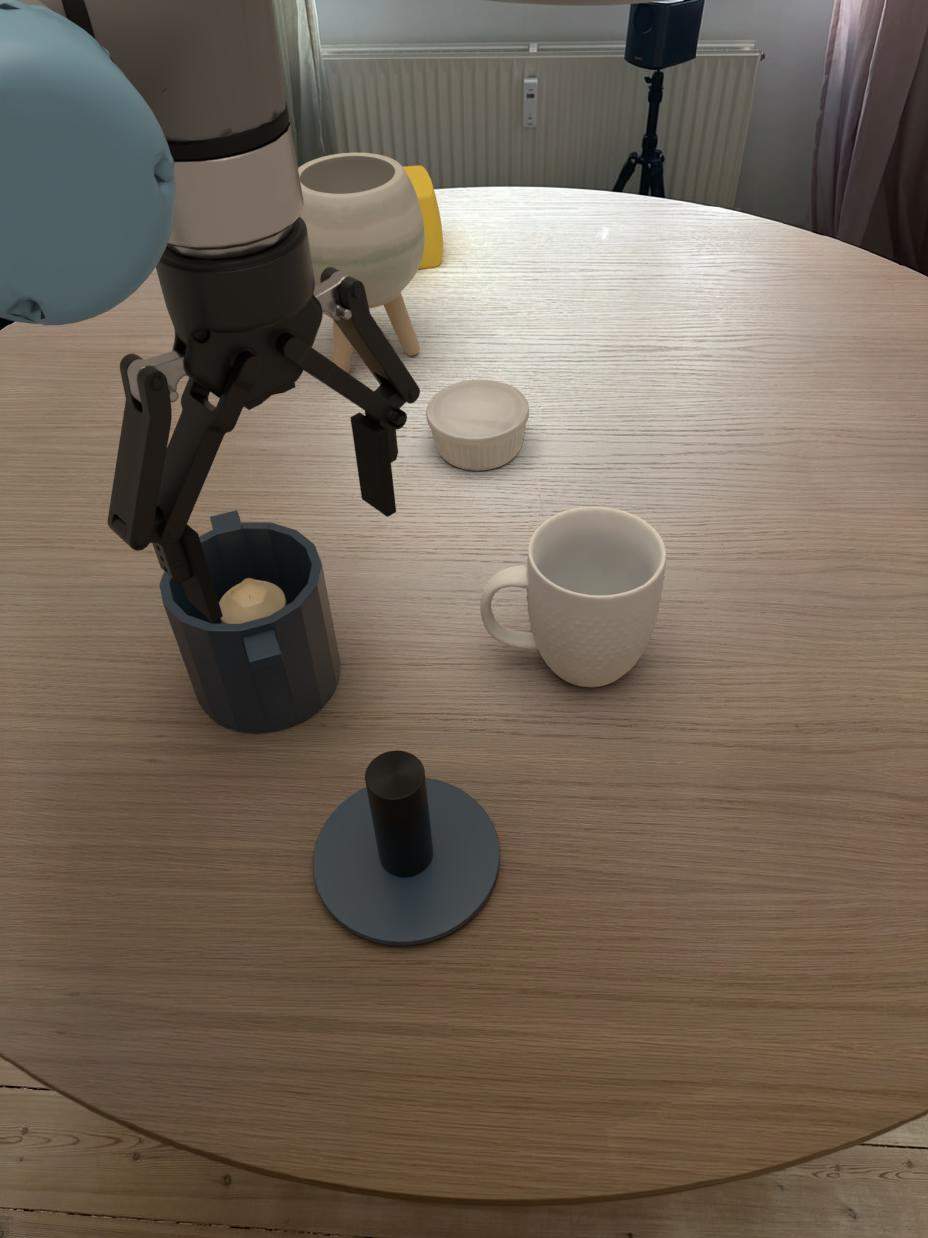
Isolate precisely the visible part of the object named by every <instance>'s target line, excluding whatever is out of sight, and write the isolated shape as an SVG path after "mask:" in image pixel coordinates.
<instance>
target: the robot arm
mask: <svg viewBox="0 0 928 1238" xmlns="http://www.w3.org/2000/svg"><path fill="white" fill-rule="evenodd" d="M287 103H288V101H287V100H286V93H285V86H284V79H283V72H282V64H281V57H280V49H279V42H278V33H277V27H276V18H275V13H274V4H273V0H0V319H4V320H8V321H13V322H16V323H24V324H30V325H42V326H63V325H70V324H76V323H80V322H85V321H87V320H90V319H93V318H96V317H98V316H100V315H103V314H105V313H107V312H109V311H111V310H112V309H114V308H115V307H117V306H118V305H120V304H121V303H123V302H125V300H126V299H128V298H129V297H131V296H132V295H133V294H134V293H135V292H136V291H138V289H139V288H140V287H141V286H142V285H143V284H144V283H145V281H146V280H147V279H148V278H149V277H150V276H151V274H152V273H153V271H154V270H156V273H157V278H158V281H159V284H160V285H159V286H160V289H161V292H162V296H163V299H164V303H165V308H166V310H167V312H168V316H169V318H170V320H171V322H172V327H173V329H174V340H173V345H172V350H171V351H169V352H166V353H162V354H159V355H156V356H152V357H150V358H146V359H144V358H142V357H141V356H140V355H139V354H136V353H127V354H126V355H124V356H123V357H122V359H121V360H120V362H119V372H120V376H121V381H122V386H123V391H124V396H125V404H124V408H123V416H122V422H121V429H120V435H119V443H118V448H117V454H116V455H117V456H116V463H115V469H114V475H113V482H112V488H111V496H110V502H109V507H108V508H109V509H108V515H107V526H108V528H109V529H110V530H111V531H112V532H113V533H114V534H115V535H117V536H118V537H119V538H120V539H121V540H122V541H123V542H124V543H125V544H127V545H128V546H129V547H130V548H131V549H132V550H133V551H136V552H137V551H138V552H139V551H144V550H145V549H146V548H148V546H149V545H150V544H152V547H153V550H154V553H155V555H156V559H157V561H158V564H159V567H160V569H161V570H162V571H163V572H164V571H165V572H166V573H167V574H168V575H169V576H170V577H171V578H172V579H174V580H175V581H176V582H177V583H178V584H180V583H182V584H183V587H184V590H185V593H186V596H187V599H188V601H189V602H190V603H192V604H193V605H194V606H195V607H196V608H197V609H198V610H199V611H200V612H201V613H202V614H203V615H205V616H206V617H207V618H208V619H209V620H210V621H211V622H212V623H213V622H214V621H216V620H218V619H219V618H221V617H223V615H222V611H221V608H220V605H219V601H218V598H217V595H216V591H215V588H214V585H213V582H212V578H211V575H210V572H209V568H208V565H207V562H206V558H205V555H204V552H203V548H202V545H201V542H200V538H199V537H200V535H199V533H198V532H197V531H196V530H195V529H193V528H192V527H191V526H190V525H189V524H188V522H189V520H190V518H191V516H192V513H193V510H194V508H195V505H196V504H197V501H198V499H199V497H200V494H201V492H202V489H203V487H204V484H205V482H206V480H207V477H208V475H209V472H210V471H211V468H212V466H213V463H214V460H215V458H216V456H217V453H218V451H219V449H220V447H221V444H222V443H223V440H224V438H225V435H226V434H228V433H231V432H232V431H233V430H234V429H235V427H236V426H237V423H238V421H239V419H240V416H241V413H242V411H243V409H244V408H245V409H247V410H248V411H251V410H253V409H254V408H256V407H258V406H260V405H262V404H263V403H265V402H266V400H268V399H269V398H270V397H271V396H274V395H275V396H276V395H280V394H285V393H287V392H289V391H291V390H293V389H295V388H296V382H297V381H298V380H299V379H300V377H301V376H302V374H303V372H305V373H307V374H309V375H310V376H311V377H313V378H315V379H316V380H318V381H319V382H321V383H322V384H323V385H325V386H327V387H328V388H330V389H331V390H333V391H334V392H336V393H337V394H339V395H340V396H342V397H344V399H346V400H348V401H350V402H351V403H352V404H354V405H356V406H357V407H359V408H360V409H362V410H363V411H364V414H363V413H362V412H357V413H356V414H354V415H352V416H350V417H349V418H350V425H351V426H350V427H351V433H352V439H353V447H354V454H355V460H356V467H357V476H358V482H359V488H360V489H359V490H360V497H361V500H362V501H363V502H365V503H367V504H368V505H369V506H370V507H372V508H374V509H375V510H377V511H378V512H379V513H381V514H382V515H384V516H385V517H387V518H388V517H390V516H392V515H394V514H396V513H397V505H396V497H395V488H394V487H395V486H394V479H393V468H392V463H393V462H395V461H397V459H398V454H399V447H398V437H397V430H400V429H402V428H404V426H405V425H406V423H407V421H408V414H407V412H406V411H404V410H402V407H403V406H404V405H405V404H411V405H412V404H414V403H415V402H417V400H418V399H419V397H420V395H421V389H420V386H419V385H418V383H417V381H415V379H414V377H413V376H412V375H411V373H410V371H409V370H408V368H407V367H406V365H405V364H404V362H403V360H402V359H401V358H400V356H399V355H398V353H397V352H396V350H395V349H394V347H393V345H392V344H391V342H390V341H389V340H388V338H387V336H386V335H385V334H384V332H383V330H382V328H381V327H380V326H379V325H378V323H377V321H376V319H375V318H374V317H373V316H372V314H371V310H370V309H369V306H368V301H367V296H366V292H365V287H364V285H363V283H362V282H361V281H359V280H357V279H355V278H353V277H351V276H349V275H347V274H345V273H343V272H341V271H339V270H337V269H336V268H334V267H327V268H326V269H325V270H323V272H322V274H321V277H320V284H319V285H317V286H315V279H314V272H313V266H312V259H311V252H310V246H309V239H308V233H307V227H306V224H305V222H304V220H303V219H302V218H301V217H300V215H301V212H302V209H303V205H304V201H303V195H302V189H301V183H300V177H299V171H298V168H299V165H298V160H297V155H296V154H297V153H296V148H295V143H294V137H293V131H292V125H291V121H290V115H289V110H288V109H289V108H288V105H287ZM323 315H325V316H326V317H329V318H330V319H332V321H333V320H334V321H335V323H336V324H337V325H338V327H339V328H340V330H341V331H342V332H343V334H344V335H345V337H346V338H347V339H348V341H349V342H350V344H351V345H352V349H354V351H355V353H357V355H358V357H360V359H361V361H362V362H363V363H364V365H365V366H366V367H367V369H368V370H369V371H370V373H371V374H372V376H373V377H374V379H375V380H376V382H377V383H378V384H379V386H378V387H377V388H376V389H374V390H373V389H372V388H370V387H369V386H367V385H366V384H365V383H363V382H362V381H361V380H358V379H357V378H356V377H354V376H353V375H352V374H350V372H349V373H347V372H346V371H344V370H343V369H341V368H340V367H338V366H337V365H336V364H335V363H333V360H331V359H330V358H328V357H326V356H325V355H323V354H322V353H321V352H319V351H318V350H316V348H314V347H313V346H314V343H315V340H316V337H317V335H318V332H319V329H320V327H321V324H322V321H323V317H324V316H323ZM184 377H188V379H187V382H186V385H185V387H184V388H183V391H182V394H181V397H180V406H181V413H180V415H179V418H178V420H177V422H176V425H175V427H174V429H173V432H172V435H171V437H170V432H171V427H172V419H173V417H172V411H173V410H172V403H175V402H177V401H178V399H179V395H180V394H179V393H178V391H177V389H178V384H179V382H180V381H181V379H183V378H184ZM210 393H211V394H213V395H214V396H216V397H217V398H218V401H217V404H216V406H215V405H214V404H212V403H211V402H210V401H209V396H210ZM169 438H170V440H169Z"/></svg>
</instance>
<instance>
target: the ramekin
mask: <svg viewBox="0 0 928 1238" xmlns="http://www.w3.org/2000/svg"><path fill="white" fill-rule="evenodd" d="M425 415H426V416H425V417H426V423H427V425H428V426H429V429H430V431H431V435H432V439H433V442H434V445H435V449H436V451H437V453H438V454H439V456H440V457H441V458H442V459H443V460H444V461H446V462H447V463H448V464H450V465H451V466H453V467H456V468H459V469H462V470H466V471H475V472H477V471H478V472H479V471H481V472H482V471H488V470H493V469H496V468H500V467H503V466H504V465H506V464H507V463H508V464H509V462H511V461H512V460H513V459H514V458H515V457H516V456H517V454H518V453H519V452H520V450H521V448H522V446H523V442H524V438H525V433H526V426H527V424H528V421H529V418H530V404H529V402H528V399H527V398H526V396H525V395H524V394H523V392H521V391H520V390H519V389H517V388H516V387H514V386H513V385H510V384H509V383H506V382H502V381H497V380H490V379H468V380H462V381H459V382H456V383H452V384H450V385H448V386H446V387H444V388H442V389H441V390H439V391H438V392H436V393H435V394H434V395H433V396H432V397H431V399H430V400H429V402H428V404H427V406H426V411H425Z"/></svg>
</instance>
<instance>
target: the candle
mask: <svg viewBox="0 0 928 1238" xmlns="http://www.w3.org/2000/svg"><path fill="white" fill-rule="evenodd" d="M219 605H220V608H221V611H222V615H223V617H221V618H220V620H221V623H222V624H241V623H245V622H249V621H252V620H256V619H260V618H264V617H267V616H270V615H271V614H273V613H275V612H277V611H278V610H280V609H282V608H283V607H285V606H287V603H286V599H285V595H284V593H283V591H282V590H281V589H280V588H279V587H278V586H276V585H275V584H272V583H269V582H266V581H260V580H254V579H251V578H247V579H245V580H243V581H242V582H241V583H239V584H237V585H236V586H234V587H232V588H231V589H230V590H229V591H227V592H226V593H225V594H224V595H223V597H222V598H221V600H220V602H219Z"/></svg>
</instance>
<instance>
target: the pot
mask: <svg viewBox="0 0 928 1238" xmlns="http://www.w3.org/2000/svg"><path fill="white" fill-rule="evenodd" d="M209 521H210V523H211V527H212V529H211V530H209V531H207V532H205V533H203V534H201V535H199V538H200V542H201V545H202V548H203V552H204V555H205V558H206V562H207V565H208V568H209V572H210V575H211V578H212V582H213V585H214V588H215V591H216V595H217V598H218V601H219V602H220V600H221V598H222V597H223V595H224V594H225V593H226V592H227V591H229V590H230V589H231V588H232V587H234V586H236V585H237V584H239V583H241V582H242V581H243V580H245V579H247V578H251V579H254V580H260V581H266V582H269V583H272V584H275V585H276V586H278V587H279V588H280V589H281V590H282V591H283V593H284V595H285V599H286V603H287V606H285V607H283V608H282V609H280V610H278V611H277V612H275V613H273V614H271V615H270V616H267V617H264V618H260V619H256V620H252V621H249V622H245V623H241V624H222V623H221V620H220V618H219V619H218V620H216V621H214V622H213V623H212V622H211V621H210V620H209V619H208V618H207V617H206V616H205V615H203V614H202V613H201V612H200V611H199V610H198V609H197V608H196V607H195V606H194V605H193V604H192V603H190V602H189V601H188V599H187V596H186V593H185V590H184V587H183V584H182V583H180V584H178V583H177V582H176V581H175V580H174V579H172V578H171V577H170V576H169V575H168V574H167V573H166V572H165V571H164V570H163V572H162V573H163V574H162V576H161V579H160V581H159V589H160V595H161V600H162V605H163V607H164V611H165V614H166V615H167V618H168V619H167V620H168V621H169V625H170V627H171V630H172V632H173V636H174V639H175V642H176V644H177V646H178V649H179V652H180V655H181V658H182V661H183V664H184V666H185V669H186V671H187V674H188V678H189V680H190V683H191V686H192V688H193V691H194V694H195V697H196V701H197V703H198V704H199V705H200V706H201V709H202V710H203V711H204V713H205V714H206V715H207V716H208V717H209V718H210V719H211V720H212V721H214V722H215V723H217V724H219V726H222V727H224V728H226V729H229V730H231V731H235V732H239V733H245V734H266V733H267V734H268V733H274V732H278V731H279V732H280V731H283V730H286V729H290V728H292V727H294V726H296V725H299V724H301V723H303V722H305V721H306V720H308V719H309V718H311V717H312V716H314V715H315V714H317V713H318V712H320V711H321V709H322V708H323V707H324V706H326V704H327V703H328V702H329V701H330V699H331V698H332V696H333V695H334V693H335V691H336V689H337V686H338V684H339V680H340V674H341V658H340V654H339V653H340V652H339V647H338V643H337V638H336V633H335V627H334V622H333V617H332V610H331V606H330V605H331V604H330V600H329V594H328V588H327V583H326V577H325V572H324V568H323V563H322V560H321V557H320V555H319V552H318V549H317V547H316V545H315V543H314V542H312V541H311V540H310V539H308V538H307V537H306V536H305V535H303V534H302V533H301V532H300V531H299V530H297V529H294V528H291V527H288V526H285V525H281V524H278V523H275V522H269V521H268V522H267V521H266V522H264V521H263V522H260V521H259V522H258V521H255V522H254V521H242V520H241V518H240V515H239V511H238V510H231V511H227V512H223V513H220V514H215V515H211V516H209Z"/></svg>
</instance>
